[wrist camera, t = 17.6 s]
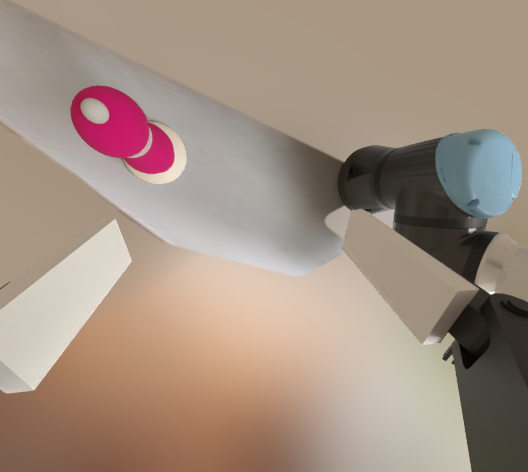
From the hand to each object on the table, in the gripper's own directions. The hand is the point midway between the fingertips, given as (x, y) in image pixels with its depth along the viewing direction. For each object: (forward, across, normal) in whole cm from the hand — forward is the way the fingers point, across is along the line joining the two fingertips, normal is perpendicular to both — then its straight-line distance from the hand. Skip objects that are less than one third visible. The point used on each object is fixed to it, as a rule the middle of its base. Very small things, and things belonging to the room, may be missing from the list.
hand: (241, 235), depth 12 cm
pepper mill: (+28, -14, +1) cm, 32 cm away
